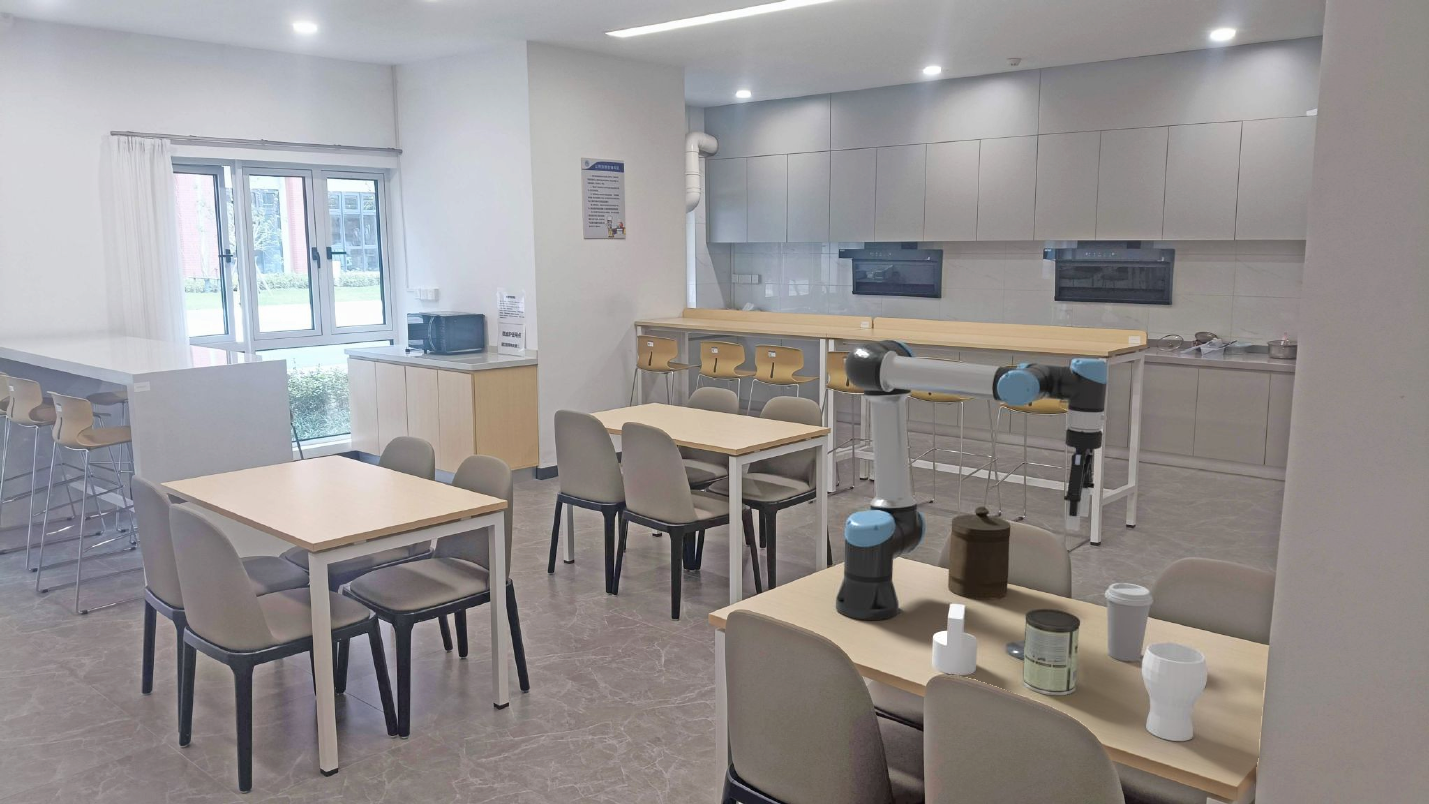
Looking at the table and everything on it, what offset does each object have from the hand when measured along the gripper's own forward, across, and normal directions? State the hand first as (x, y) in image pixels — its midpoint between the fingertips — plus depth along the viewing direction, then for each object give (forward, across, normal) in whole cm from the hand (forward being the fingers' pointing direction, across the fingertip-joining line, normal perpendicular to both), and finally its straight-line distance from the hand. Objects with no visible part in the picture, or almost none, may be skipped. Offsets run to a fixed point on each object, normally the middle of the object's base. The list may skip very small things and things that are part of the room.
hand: (1077, 522), depth 218 cm
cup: (+26, -39, -24) cm, 53 cm away
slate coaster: (+27, -14, +6) cm, 31 cm away
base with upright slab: (+27, -30, +18) cm, 44 cm away
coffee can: (+27, -29, -1) cm, 40 cm away
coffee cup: (+27, -6, -12) cm, 30 cm away
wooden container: (+27, +22, +26) cm, 43 cm away
